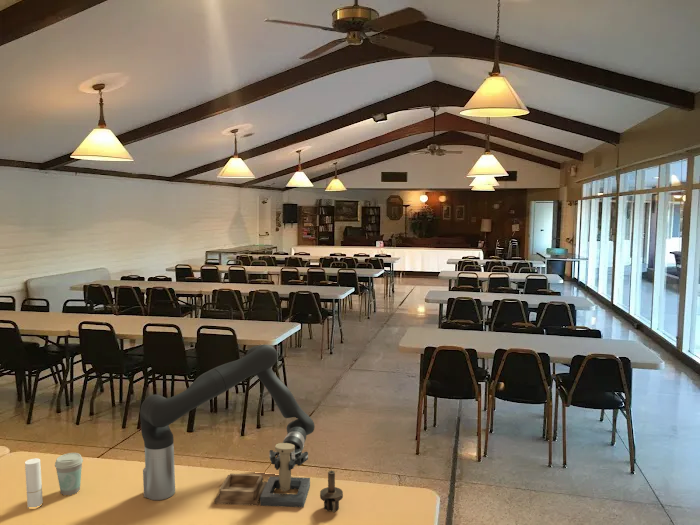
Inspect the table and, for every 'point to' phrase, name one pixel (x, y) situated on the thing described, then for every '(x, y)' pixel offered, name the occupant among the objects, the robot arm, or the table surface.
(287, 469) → the handle
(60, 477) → the coffee cup
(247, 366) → the robot arm
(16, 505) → the table surface
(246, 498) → the tray
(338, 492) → the industrial component
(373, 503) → the table surface
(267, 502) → the socket block
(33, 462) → the tube
